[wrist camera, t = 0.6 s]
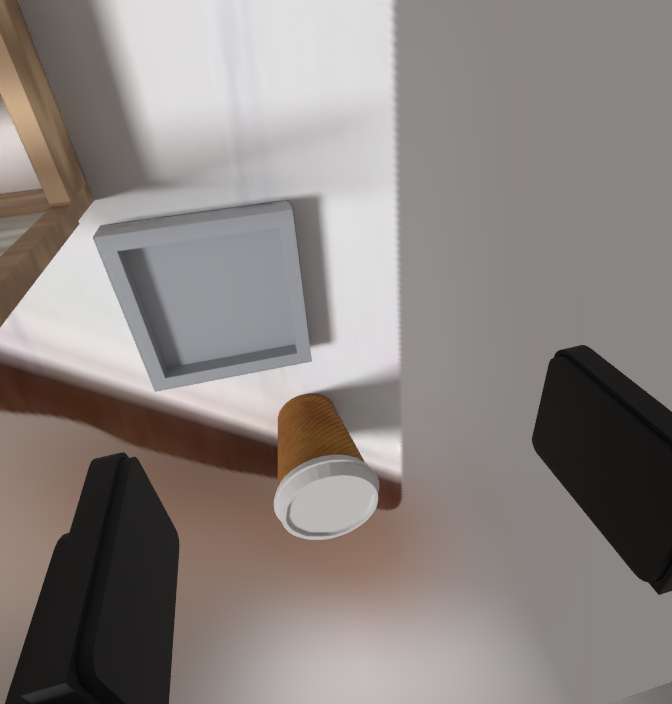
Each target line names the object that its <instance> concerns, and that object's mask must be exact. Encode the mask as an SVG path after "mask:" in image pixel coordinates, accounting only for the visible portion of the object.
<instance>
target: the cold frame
mask: <svg viewBox="0 0 672 704" xmlns="http://www.w3.org/2000/svg"><path fill="white" fill-rule="evenodd" d="M0 94H1V96H2V98H3V101H4V103H5V105H6V107H7V110H8V112H9V114H10V116H11V119H12V121H13V123H14V125H15V128H16V130H17V132H18V134H19V137H20V139H21V141H22V143H23V146H24V148H25V150H26V152H27V155H28V157H29V159H30V162H31V164H32V166H33V168H34V171H35V173H36V175H37V177H38V180H39V182H40V184H41V186H42V189H39V190H30V191H22V192H14V193H6V194H0V327H1V325H2V324H3V323H4V322H5V320H6V319H7V318H8V316H9V315H10V314H11V312H12V311H13V310H14V308H15V307H16V306H17V305H18V303H19V302H20V301H21V299H22V298H23V297H24V295H25V294H26V293H27V291H28V290H29V289H30V288H31V286H32V285H33V284H34V282H35V281H36V280H37V278H38V277H39V276H40V274H41V273H42V272H43V271H44V269H45V268H46V267H47V265H48V264H49V263H50V261H51V260H52V259H53V257H54V256H55V255H56V254H57V252H58V251H59V250H60V248H61V247H62V246H63V244H64V243H65V242H66V240H67V239H68V238H69V237H70V235H71V234H72V233H73V231H74V230H75V229H76V227H77V226H78V225H79V222H78V220H79V219H80V217H81V216H82V215H83V214H84V212H85V211H86V210H87V209H88V207H89V206H90V205H91V203H92V202H93V198H92V196H91V193H90V190H89V188H88V185H87V183H86V180H85V177H84V175H83V172H82V169H81V167H80V164H79V162H78V159H77V156H76V154H75V151H74V149H73V146H72V143H71V141H70V138H69V136H68V133H67V130H66V128H65V125H64V123H63V120H62V117H61V115H60V112H59V110H58V107H57V104H56V102H55V99H54V97H53V94H52V91H51V89H50V86H49V84H48V81H47V78H46V76H45V73H44V71H43V68H42V65H41V63H40V60H39V57H38V55H37V52H36V50H35V47H34V44H33V42H32V39H31V37H30V34H29V31H28V29H27V26H26V24H25V21H24V18H23V16H22V13H21V11H20V8H19V5H18V3H17V0H0Z"/></svg>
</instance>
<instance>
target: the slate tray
mask: <svg viewBox="0 0 672 704" xmlns="http://www.w3.org/2000/svg"><path fill="white" fill-rule="evenodd" d="M93 239H94V242H95V244H96V247H97V249H98V252H99V254H100V257H101V259H102V262H103V264H104V267H105V269H106V272H107V274H108V277H109V279H110V281H111V284H112V286H113V289H114V291H115V294H116V296H117V299H118V301H119V304H120V306H121V309H122V311H123V314H124V316H125V319H126V321H127V324H128V326H129V328H130V331H131V333H132V336H133V338H134V341H135V343H136V346H137V348H138V351H139V353H140V356H141V358H142V361H143V363H144V366H145V368H146V371H147V373H148V375H149V378H150V380H151V383H152V385H153V388H154V390H155V392H156V391H161V390H166V389H171V388H177V387H182V386H187V385H192V384H197V383H203V382H208V381H213V380H218V379H223V378H228V377H234V376H239V375H244V374H249V373H254V372H259V371H265V370H270V369H275V368H280V367H285V366H291V365H296V364H301V363H306V362H311V361H312V359H311V351H310V344H309V336H308V328H307V320H306V312H305V304H304V296H303V288H302V280H301V273H300V265H299V257H298V249H297V241H296V233H295V225H294V217H293V210H292V207H291V205H290V203H289V201H288V200H285V201H278V202H270V203H263V204H256V205H249V206H241V207H234V208H227V209H220V210H212V211H205V212H198V213H191V214H183V215H176V216H169V217H162V218H154V219H147V220H140V221H133V222H125V223H118V224H111V225H104V226H100V227H99V229H98V230H97V232H96V233H95V235H94V236H93Z"/></svg>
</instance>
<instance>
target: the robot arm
mask: <svg viewBox="0 0 672 704" xmlns="http://www.w3.org/2000/svg"><path fill="white" fill-rule="evenodd" d="M532 443H533V446H534V449H535V451H536V452H537V454H538V455H539V456H540V458H541V459H542V460H543V461H544V463H545V464H546V465H547V466H548V468H549V469H550V470H551V471H552V473H553V474H554V475H555V476H556V477H557V479H558V480H559V481H560V482H561V483H562V485H563V486H564V487H565V488H566V490H567V491H568V492H569V493H570V495H571V496H572V497H573V498H574V499H575V501H576V502H577V503H578V505H579V506H580V507H581V508H582V509H583V511H584V512H585V513H586V514H587V516H588V517H589V518H590V519H591V521H592V522H593V523H594V524H595V526H596V527H597V528H598V529H599V530H600V531H601V533H602V534H603V535H604V537H605V538H606V539H607V540H608V542H609V543H610V544H611V545H612V546H613V548H614V549H615V550H616V552H617V553H618V554H619V555H620V556H621V558H622V559H623V560H624V561H625V563H626V564H627V565H628V566H629V567H630V569H631V570H632V571H633V572H634V574H635V575H636V576H637V577H638V578H640V579H641V580H643V581H645V582H649V584H650V585H651V586H652V587H653V589H654V590H655V591H656V592H657V593H658V594H659V595H660V594H663V593H666V592H669V591H672V412H671V411H670V410H669V409H668V408H666V407H665V406H664V405H662V404H661V403H660V402H659V401H657V400H656V399H655V398H653V397H652V396H651V395H649V394H648V393H647V392H646V391H644V390H643V389H642V388H641V387H639V386H638V385H637V384H636V383H634V382H633V381H632V380H630V379H629V378H628V377H627V376H625V375H624V374H623V373H621V372H620V371H619V370H618V369H616V368H615V367H614V366H612V365H611V364H610V363H608V362H607V361H606V360H605V359H603V358H602V357H601V356H600V355H598V354H597V353H596V352H594V351H593V350H592V349H591V348H589V347H587V346H585V345H580V346H576V347H572V348H567V349H563V350H560V351H557V352H556V353H555V356H554V358H552V359H551V360H550V362H549V366H548V370H547V374H546V379H545V383H544V388H543V392H542V396H541V401H540V405H539V410H538V414H537V419H536V423H535V428H534V432H533V436H532ZM178 559H179V538H178V534H177V531H176V529H175V527H174V525H173V523H172V522H171V519H170V518H169V516H168V514H167V512H166V510H165V508H164V506H163V505H162V503H161V501H160V499H159V497H158V495H157V493H156V492H155V490H154V488H153V486H152V484H151V483H150V481H149V479H148V477H147V475H146V473H145V471H144V469H143V468H142V466H141V464H140V462H139V460H138V459H137V458H136V457H132V458H129V457H128V456H127V455H126V454H125V453H118V454H113V455H109V456H105V457H101V458H96V459H93V460H92V461H91V464H90V466H89V469H88V472H87V476H86V479H85V483H84V486H83V489H82V492H81V496H80V499H79V502H78V506H77V509H76V513H75V516H74V519H73V523H72V526H71V529H70V532H69V533H67V534H64V535H62V537H61V538H60V539H59V540H58V542H57V544H56V546H55V549H54V552H53V555H52V558H51V561H50V564H49V567H48V571H47V573H46V577H45V580H44V583H43V586H42V589H41V592H40V596H39V599H38V602H37V605H36V608H35V611H34V614H33V617H32V621H31V623H30V627H29V630H28V633H27V636H26V639H25V642H24V645H23V648H22V652H21V655H20V658H19V661H18V664H17V667H16V671H15V674H14V677H13V680H12V683H11V686H10V689H9V692H8V696H7V699H6V702H5V704H169V692H170V678H171V663H172V648H173V633H174V618H175V604H176V588H177V574H178ZM610 704H672V682H670V683H667V684H665V685H662V686H659V687H656V688H653V689H650V690H647V691H644V692H641V693H638V694H636V695H633V696H630V697H627V698H624V699H621V700H618V701H616V702H613V703H610Z"/></svg>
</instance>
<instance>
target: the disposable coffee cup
mask: <svg viewBox="0 0 672 704" xmlns="http://www.w3.org/2000/svg"><path fill="white" fill-rule="evenodd" d="M378 491H379V481H378V477H377V476H376V474H375V472H374V470H373V469H371V468H370V467H369V466H368V465H367V464H366V463H365V462H364V460H363V458H362V456H361V455H360V453H359V451H358V449H357V447H356V445H355V444H354V442H353V440H352V438H351V436H350V435H349V433H348V431H347V430H346V427H345V426H344V424H343V422H342V420H341V418H340V416H339V415H338V413H337V411H336V409H335V407H334V405H333V404H332V402H331V401H330V400H329V399H327V398H326V397H324V396H320V395H316V394H307V395H301V396H298V397H296V398H294V399H292V400H290V401H289V402H287V403H286V404H285V405H284V406H283V407H282V409H281V411H280V413H279V416H278V489H277V492H276V494H275V498H274V510H275V513H276V515H277V517H278V519H280V520H281V521H282V523H283V526H284V527H285V528H286V529H287V531H288V532H289V533H291V534H293V535H295V536H297V537H301V538H304V539H309V540H321V539H330V538H334V537H337V536H340V535H343V534H346V533H348V532H351V531H352V530H354V529H356V528H357V527H359V526H360V525H362V524H363V523H364V522H366V521H367V519H368V518H369V517H370V516H371V515H372V513H373V512H374V511H375V509H376V506H377V503H378Z"/></svg>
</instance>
